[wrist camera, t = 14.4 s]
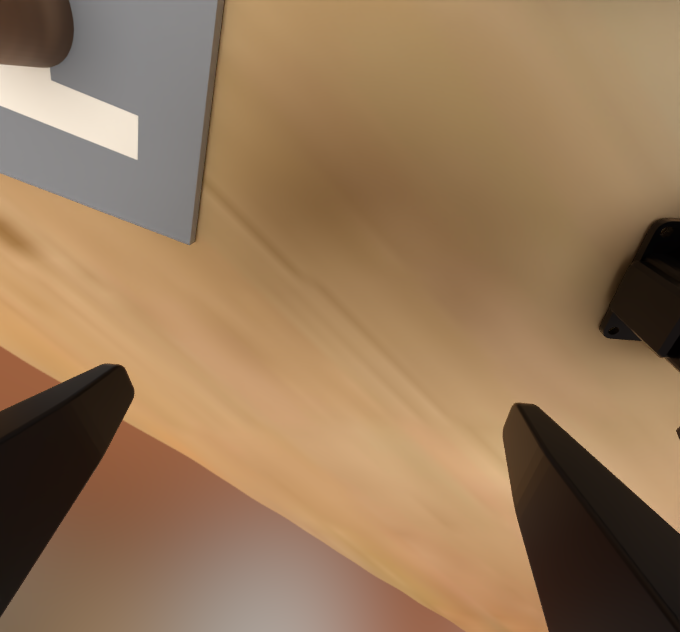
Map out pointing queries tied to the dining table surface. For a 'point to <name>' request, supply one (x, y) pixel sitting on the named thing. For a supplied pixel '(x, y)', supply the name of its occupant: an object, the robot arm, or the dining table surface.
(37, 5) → the walnut pillar
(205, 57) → the letter board
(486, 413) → the dining table surface
